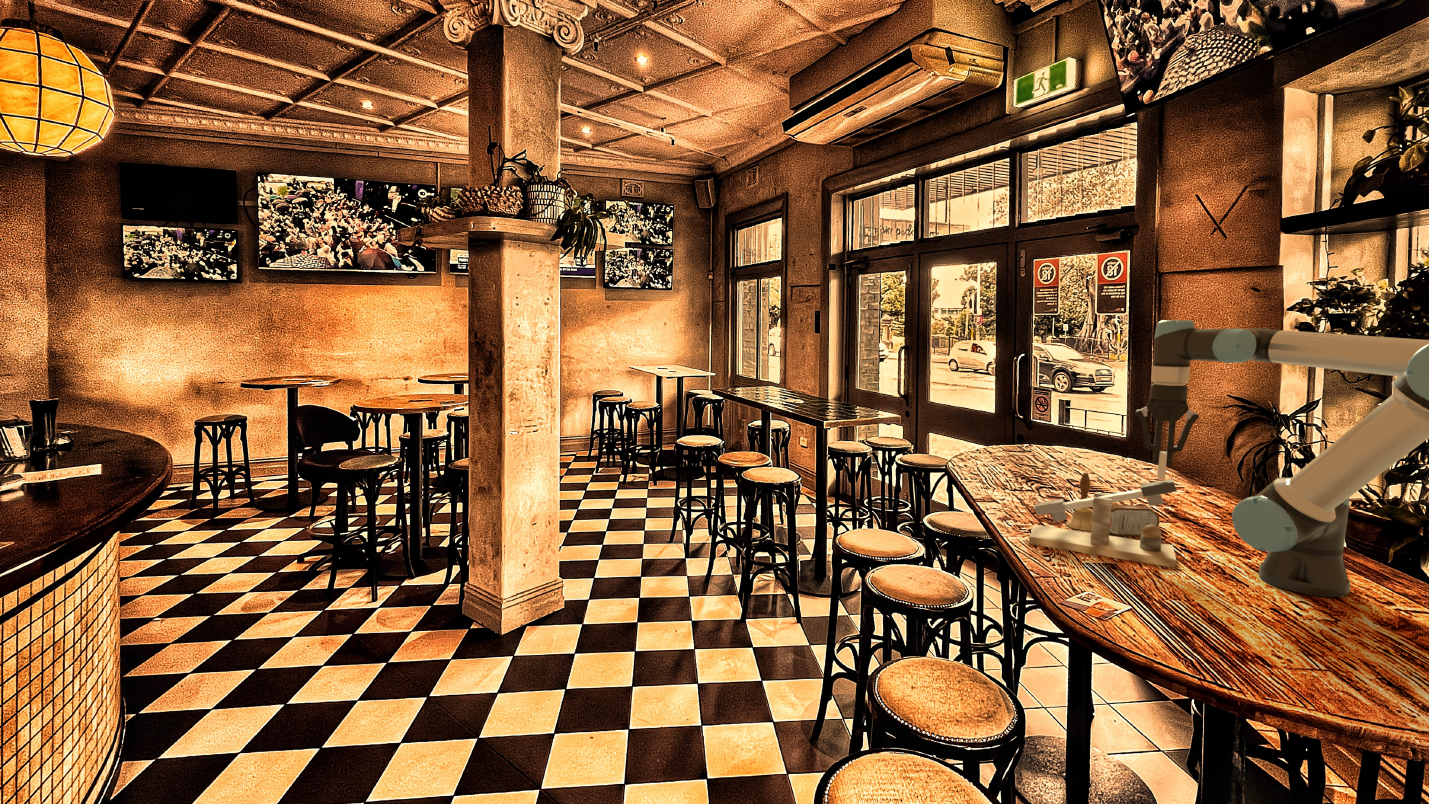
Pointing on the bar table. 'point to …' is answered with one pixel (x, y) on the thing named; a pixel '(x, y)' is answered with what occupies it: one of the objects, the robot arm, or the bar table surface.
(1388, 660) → the bar table surface
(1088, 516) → the hand bell
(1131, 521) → the tin
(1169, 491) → the lever
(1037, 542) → the press base
